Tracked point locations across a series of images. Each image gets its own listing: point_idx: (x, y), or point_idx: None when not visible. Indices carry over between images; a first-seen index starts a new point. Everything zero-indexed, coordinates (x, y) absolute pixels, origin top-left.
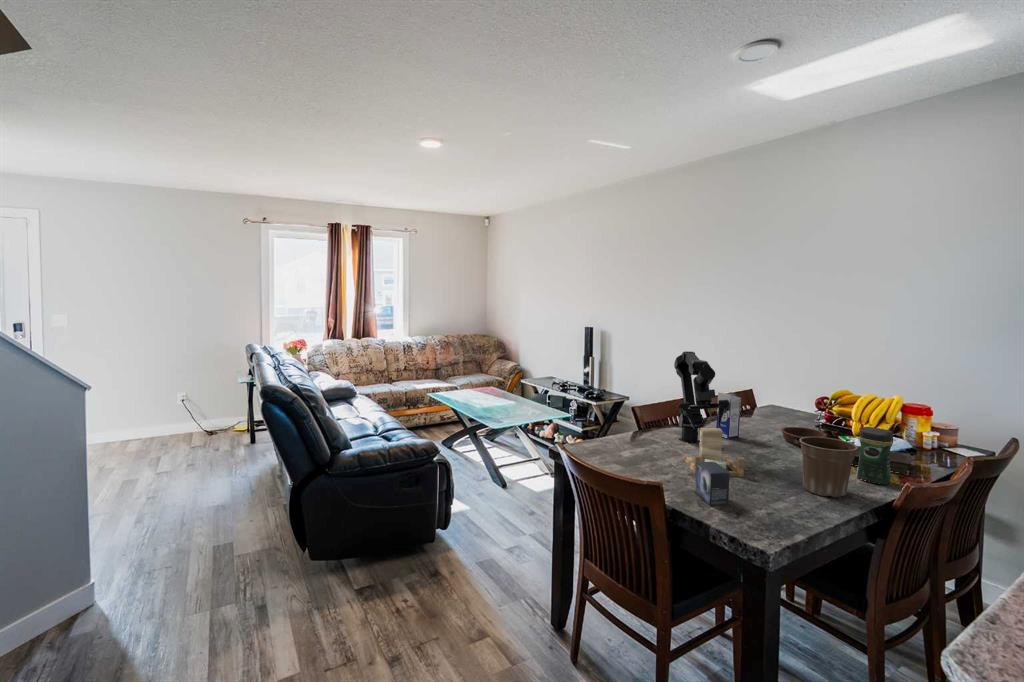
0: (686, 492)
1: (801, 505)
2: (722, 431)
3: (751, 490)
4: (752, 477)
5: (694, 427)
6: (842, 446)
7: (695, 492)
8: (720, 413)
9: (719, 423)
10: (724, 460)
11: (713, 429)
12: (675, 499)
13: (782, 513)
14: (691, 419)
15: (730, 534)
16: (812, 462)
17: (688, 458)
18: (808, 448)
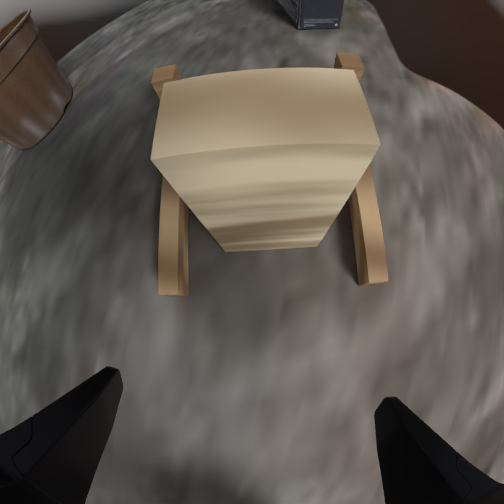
0: (358, 31)
1: (132, 34)
2: (166, 85)
3: (194, 54)
4: (141, 139)
5: (386, 399)
6: None
7: (339, 27)
8: (4, 457)
9: (93, 385)
10: (183, 283)
11: (239, 102)
12: (374, 15)
13: (187, 3)
14: (445, 453)
15: None
16: (41, 41)
17: (374, 215)
18: (30, 20)
